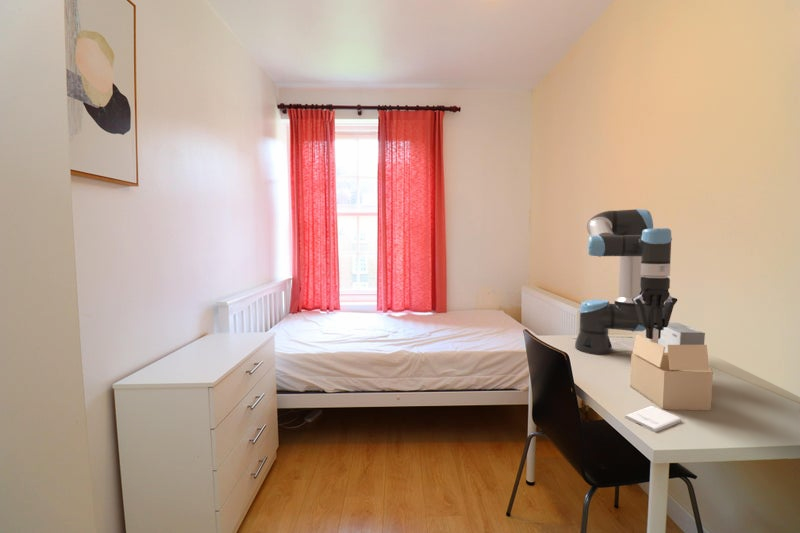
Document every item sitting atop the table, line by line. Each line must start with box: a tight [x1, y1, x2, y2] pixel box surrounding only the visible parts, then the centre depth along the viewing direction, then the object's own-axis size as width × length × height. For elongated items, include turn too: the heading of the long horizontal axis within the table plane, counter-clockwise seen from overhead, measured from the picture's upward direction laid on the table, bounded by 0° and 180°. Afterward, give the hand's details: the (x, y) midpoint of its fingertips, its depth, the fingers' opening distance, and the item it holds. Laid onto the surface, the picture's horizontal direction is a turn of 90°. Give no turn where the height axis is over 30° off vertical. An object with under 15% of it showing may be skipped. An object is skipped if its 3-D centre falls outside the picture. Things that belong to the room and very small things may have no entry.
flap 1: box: [632, 334, 665, 367], centre depth 109 cm, size 13×7×1 cm
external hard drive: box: [624, 405, 682, 433], centre depth 97 cm, size 2×8×12 cm
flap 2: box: [667, 344, 711, 370], centre depth 101 cm, size 7×11×1 cm
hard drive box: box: [658, 322, 706, 352], centre depth 123 cm, size 16×8×20 cm, turn 168°
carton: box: [629, 352, 714, 411], centre depth 110 cm, size 16×15×12 cm
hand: (652, 348), depth 109 cm, fingers closed
